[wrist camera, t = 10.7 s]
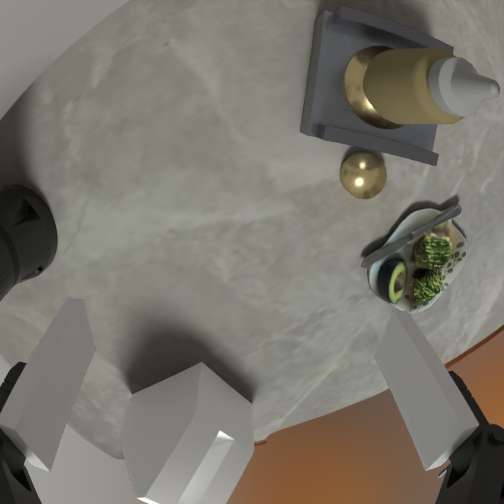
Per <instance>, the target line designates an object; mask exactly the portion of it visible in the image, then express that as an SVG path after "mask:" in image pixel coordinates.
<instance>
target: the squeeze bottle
mask: <svg viewBox="0 0 504 504" xmlns="http://www.w3.org/2000/svg"><path fill="white" fill-rule="evenodd" d="M363 90H364V94H365V96H366V98H367V100H368V101H369V103H370V104H371V106H372V107H373V108H374V109H375V110H376V111H377V112H378V113H379V114H380V115H381V116H382V117H383V118H384V119H386V120H389V121H391V122H394V123H396V124H454V123H456V122H457V121H459V120H461V119H463V117H464V116H470V115H472V114H474V113H476V112H477V110H478V109H479V107H480V106H481V103H482V100H486V99H491V98H495V97H497V96H498V95H499V93H500V87H499V85H498V83H497V82H496V81H495V80H492V79H490V78H487V77H484V76H481V75H479V74H478V72H477V71H476V69H475V68H474V67H473V65H472V64H471V63H469V62H468V61H466V60H465V59H463V58H459V57H456V56H454V55H452V54H451V53H449V52H448V51H446V50H443V49H435V48H416V49H395V50H387V51H385V52H382V53H380V54H378V55H376V56H375V57H374V59H373V60H372V61H371V62H370V63H369V65H368V66H367V69H366V72H365V75H364V79H363Z"/></svg>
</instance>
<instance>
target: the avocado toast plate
mask: <svg viewBox="0 0 504 504" xmlns="http://www.w3.org/2000/svg"><path fill="white" fill-rule="evenodd" d="M460 213H461V206H460V205H459V204H455V205H453V206H451V207H450V208H448V209H446V210H443V211H439V210H436V209H433V208H426V209H421V210H416V211H413V212H412V213H410V214H409V215H408V216H407V217H406V218H405V219H404V220H403V221H402V222H401V223H400V224H399V225H398V226H397V228H396V229H395V231H394V232H393V233H392V235H391V236H390V237H389V238H388V240H387V241H386V242H385V243H384V245H383V246H382V247H380V248H379V249H377V250H375V251H374V252H373V253H371V254H370V255H369V256H367V257H366V258H365V259H364V260H363V263H362V265H361V267H363V268H367V270H368V283H369V286H370V289H371V290H372V291H373V292H374V293H375V294H376V295H377V296H378V297H379V298H381V299H382V300H384V301H386V302H387V303H389V304H391V305H392V306H393V307H395V308H397V309H398V310H400V311H405V310H407V312H408V313H409V314H415V313H418V312H421V311H423V310H426V309H427V308H429V307H430V306H431V305H432V304H433V303H434V302H435V301H436V300H437V299H438V298H439V296H440V295H441V294H442V293H443V291H444V290H445V289H446V287H447V286H448V285H449V284H450V282H451V281H452V280H453V279H454V278H455V276H456V275H457V274H458V272H459V271H460V270H461V268H462V267H463V265H464V263H465V260H466V256H467V241H466V239H465V237H464V236H463V235H462V234H461V232H460V231H459V230H458V229H457V228H456V227H455V226H454V225H453V223H452V218H454V217H456V216H457V215H459V214H460ZM409 241H411V243H410V244H407V243H408V242H409ZM447 262H448V263H447ZM446 263H447V266H446V267H445V270H444V271H443V273H442V274H438V269H443V268H444V266H445V265H446ZM417 269H419V270H418V271H416V270H417ZM406 294H408V295H406Z"/></svg>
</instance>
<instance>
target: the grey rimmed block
mask: <svg viewBox="0 0 504 504" xmlns="http://www.w3.org/2000/svg"><path fill="white" fill-rule="evenodd" d="M416 48H435V49H443V50H446V51H448V52H449V53H451V54H452V55H453V49H454V47H452V46H450V45H448V44H446V43H444V42H442V41H440V40H438V39H435V38H433V37H431V36H429V35H426V34H424V33H422V32H419V31H417V30H414V29H412V28H409V27H407V26H404V25H402V24H399V23H396V22H394V21H391V20H388V19H385V18H382V17H379V16H376V15H373V14H370V13H367V12H364V11H360V10H357V9H353V8H350V7H346V6H342V5H341V6H340V7H339V8H338V9H337V10H336V11H335V12H330V11H326V10H325V11H324V12H323V13H322V14H321V15H320V16H319V17H318V18H317V19H316V20H315V27H314V34H313V42H312V50H311V58H310V65H309V72H308V80H307V87H306V94H305V101H304V108H303V115H302V121H301V128H300V132H301V133H303V134H306V135H308V136H313V137H318V138H320V139H322V140H326V141H331V142H336V143H342V144H347V145H352V146H356V147H361V148H366V149H370V150H375V151H379V152H383V153H388V154H392V155H396V156H400V157H404V158H408V159H411V160H415V161H419V162H422V163H426V164H430V165H433V166H436V165H437V160H438V156H439V154H437V153H434V152H432V150H433V145H434V140H435V134H436V129H437V124H396V123H394V122H391V121H389V120H386V119H384V118H383V117H382V116H381V115H380V114H379V113H378V112H377V111H376V110H375V109H374V108H373V107H372V106H371V104H370V103H369V101H368V100H367V98H366V96H365V94H364V90H363V79H364V75H365V72H366V69H367V66H368V65H369V63H370V62H371V61H372V60H373V59H374V57H375V56H376V55H378V54H380V53H382V52H385V51H387V50H395V49H416Z"/></svg>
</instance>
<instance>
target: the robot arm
mask: <svg viewBox="0 0 504 504" xmlns="http://www.w3.org/2000/svg"><path fill="white" fill-rule="evenodd" d="M56 250H57V233H56V227H55V224H54V221H53V218H52V216H51V213H50V212H49V210H48V208H47V206H46V205H45V203H44V202H43V201H42V200H41V198H40V197H39V196H38V195H36V194H35V193H34V192H33V191H31V190H30V189H28V188H25V187H23V186H17V185H14V186H9V187H6V188H4V189H2V190H0V301H1V300H2V299H3V297H4V296H5V295H6V294H7V293H8V292H9V291H10V290H11V288H12V287H13V286H14V285H15V284H18V283H20V282H23V281H26V280H28V279H31V278H34V277H36V276H38V275H40V274H41V273H42V272H43V271H44V270H45V269H46V268H47V267H48V266H49V265H50V264H51V263H52V261H53V259H54V257H55V254H56ZM95 350H96V347H95V343H94V340H93V336H92V332H91V329H90V325H89V321H88V317H87V313H86V309H85V305H84V300H82V299H73V298H68V299H67V300H66V302H65V303H64V305H63V306H62V308H61V309H60V311H59V312H58V314H57V315H56V317H55V318H54V320H53V321H52V323H51V324H50V326H49V328H48V329H47V331H46V332H45V334H44V336H43V337H42V339H41V340H40V342H39V344H38V345H37V347H36V349H35V350H34V352H33V354H32V356H31V357H30V359H29V361H28V362H27V363H23V362H18V363H17V364H16V365H15V366H14V367H13V368H11V369H10V371H9V372H8V374H7V376H6V378H5V379H4V382H3V383H2V385H1V387H0V504H42V503H41V501H40V499H39V497H38V495H37V492H36V490H35V488H34V486H33V483H32V481H31V479H30V476H29V474H28V471H27V469H26V467H25V466H24V462H25V459H27V460H28V461H29V462H30V463H31V464H32V465H33V466H36V467H38V468H41V469H44V470H47V471H51V468H52V465H53V462H54V459H55V455H56V452H57V449H58V446H59V443H60V440H61V437H62V434H63V431H64V429H65V425H66V423H67V420H68V417H69V415H70V412H71V409H72V407H73V404H74V401H75V399H76V396H77V393H78V391H79V388H80V386H81V383H82V381H83V378H84V376H85V374H86V371H87V369H88V366H89V364H90V362H91V359H92V357H93V354H94V352H95ZM375 359H376V361H377V363H378V365H379V367H380V369H381V371H382V373H383V375H384V377H385V380H386V382H387V384H388V386H389V388H390V390H391V392H392V394H393V397H394V399H395V401H396V403H397V405H398V408H399V410H400V412H401V415H402V417H403V419H404V421H405V424H406V426H407V428H408V431H409V433H410V435H411V437H412V440H413V442H414V445H415V447H416V450H417V452H418V454H419V457H420V459H421V462H422V464H423V467H424V469H425V471H427V470H430V469H433V468H436V467H438V466H441V465H442V464H443V463H444V462H445V461H446V460H447V459H448V458H449V459H450V461H451V463H450V464H449V465H448V466H447V467H446V468H445V469H444V470H443V471H442V472H441V473H440V474H439V476H438V478H440V477H442V476H443V475H444V474H445V473H446V474H445V477H444V478H443V484H442V486H441V489H440V492H439V495H438V498H437V501H436V503H435V504H504V429H503V428H502V427H500V426H498V425H495V424H489V423H488V421H487V420H486V418H485V416H484V414H483V413H482V411H481V409H480V408H479V406H478V404H477V403H476V401H475V399H474V398H473V397H471V396H472V395H471V393H470V391H469V390H467V387H466V385H465V383H464V382H463V380H462V379H461V378H460V377H459V376H458V375H457V374H456V373H454V372H453V371H449V372H448V371H447V370H446V368H445V367H444V365H443V363H442V362H441V360H440V359H439V357H438V356H437V354H436V353H435V351H434V350H433V348H432V347H431V345H430V344H429V342H428V341H427V339H426V338H425V336H424V335H423V333H422V332H421V330H420V329H419V327H418V326H417V325H416V323H415V322H414V320H413V319H412V317H411V316H410V315H409V313H408V312H407V310H405V311H392V314H391V317H390V319H389V322H388V324H387V327H386V330H385V332H384V335H383V337H382V340H381V342H380V344H379V347H378V349H377V352H376V354H375Z"/></svg>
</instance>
